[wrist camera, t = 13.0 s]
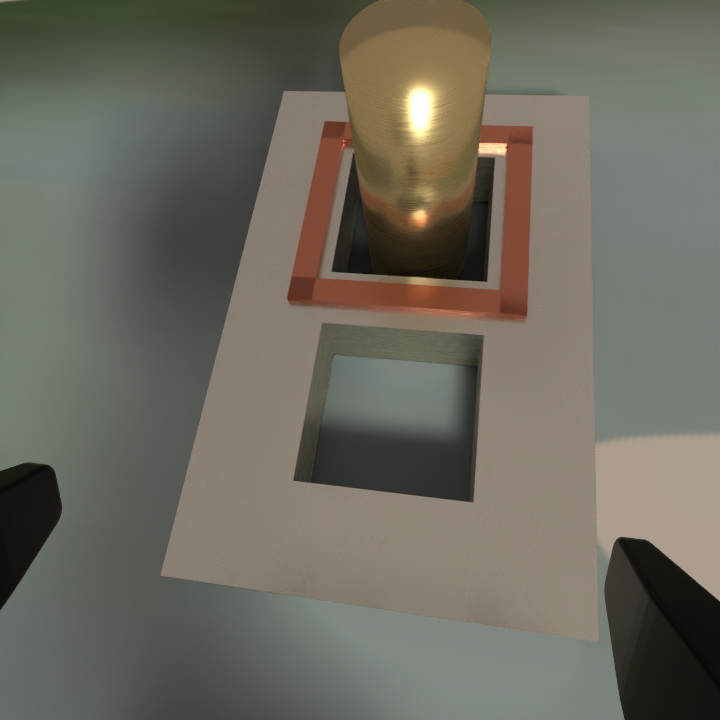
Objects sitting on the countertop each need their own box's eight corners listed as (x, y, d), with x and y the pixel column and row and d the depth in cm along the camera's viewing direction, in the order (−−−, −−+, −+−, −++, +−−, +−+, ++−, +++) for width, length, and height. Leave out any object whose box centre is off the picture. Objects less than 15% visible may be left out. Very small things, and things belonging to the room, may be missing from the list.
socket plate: (574, 637, 20) (601, 642, 17) (193, 579, 22) (156, 574, 19) (573, 145, 28) (590, 90, 25) (296, 137, 30) (282, 85, 27)
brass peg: (485, 247, 27) (522, 27, 17) (425, 314, 26) (426, 121, 16) (411, 201, 28) (403, -27, 18) (351, 263, 27) (308, 56, 17)
